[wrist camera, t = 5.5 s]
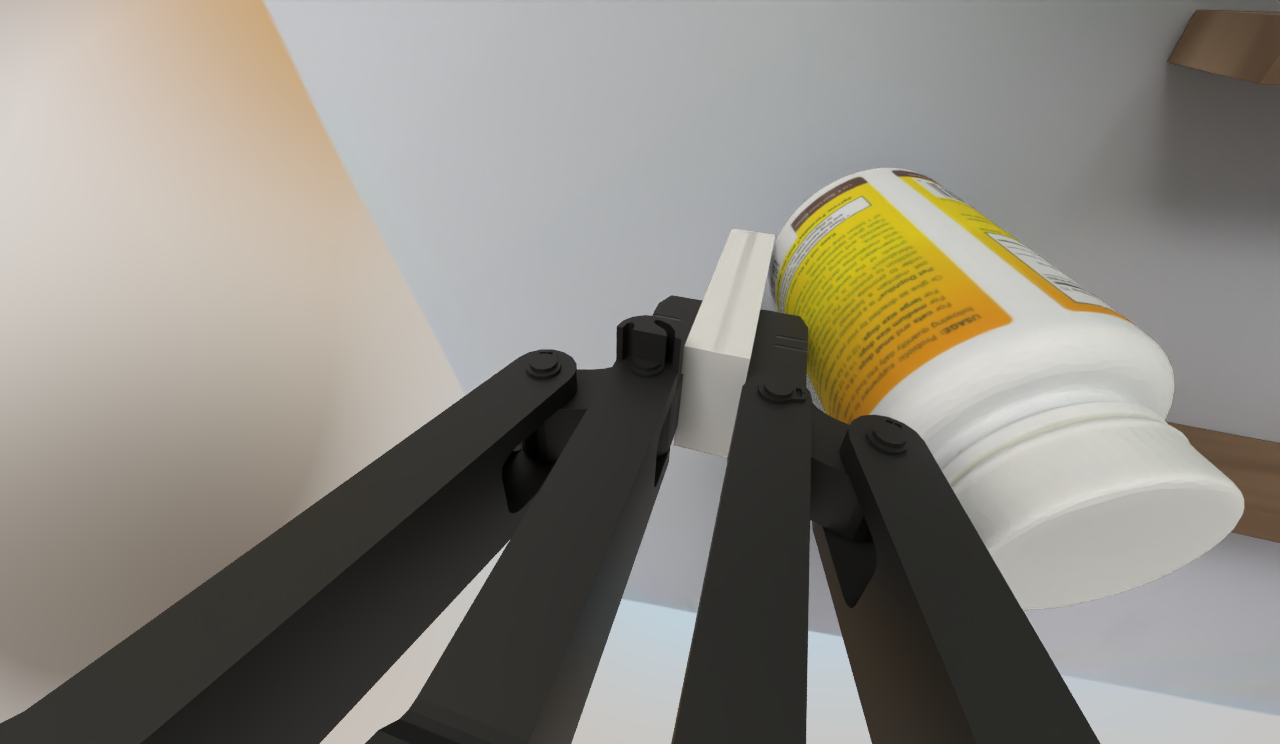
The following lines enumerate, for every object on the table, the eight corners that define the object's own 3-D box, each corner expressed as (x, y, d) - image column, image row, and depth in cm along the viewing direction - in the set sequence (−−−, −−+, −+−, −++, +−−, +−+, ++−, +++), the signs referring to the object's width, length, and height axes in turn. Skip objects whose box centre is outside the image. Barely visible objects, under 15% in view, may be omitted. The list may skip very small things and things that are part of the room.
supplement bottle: (755, 330, 17) (876, 642, 10) (773, 168, 14) (990, 460, 6) (915, 317, 17) (1162, 618, 10) (975, 151, 14) (1448, 422, 6)
